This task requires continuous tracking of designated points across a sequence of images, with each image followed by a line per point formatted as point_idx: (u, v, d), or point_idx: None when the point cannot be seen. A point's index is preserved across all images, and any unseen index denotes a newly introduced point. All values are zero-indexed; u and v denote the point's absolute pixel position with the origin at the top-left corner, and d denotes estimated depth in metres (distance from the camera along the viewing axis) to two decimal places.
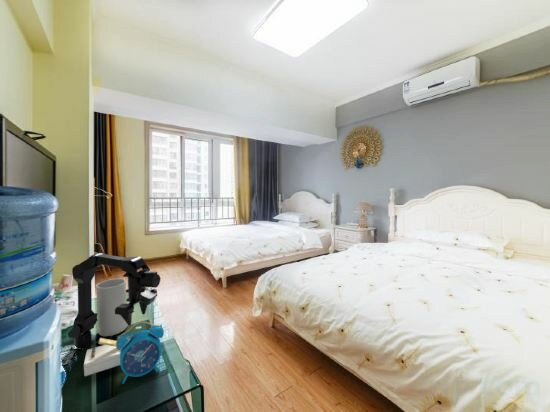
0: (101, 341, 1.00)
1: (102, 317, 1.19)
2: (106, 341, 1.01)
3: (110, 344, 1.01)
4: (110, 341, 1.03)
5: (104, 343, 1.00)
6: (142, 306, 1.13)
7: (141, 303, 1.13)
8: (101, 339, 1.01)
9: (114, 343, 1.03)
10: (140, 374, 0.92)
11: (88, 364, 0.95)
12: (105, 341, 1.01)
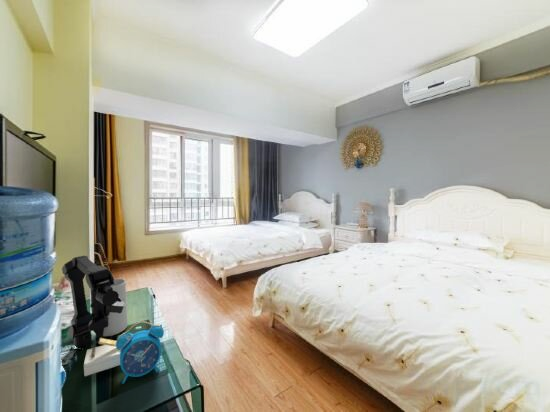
0: (101, 341, 1.00)
1: None
2: (106, 341, 1.01)
3: (110, 344, 1.01)
4: (110, 341, 1.03)
5: (104, 343, 1.00)
6: None
7: None
8: (101, 339, 1.01)
9: (114, 343, 1.03)
10: (140, 374, 0.92)
11: (88, 364, 0.95)
12: (105, 341, 1.01)
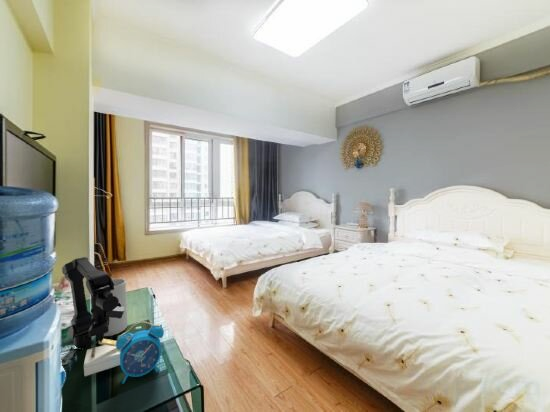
0: (101, 341, 1.00)
1: None
2: (106, 341, 1.01)
3: (110, 344, 1.01)
4: (110, 341, 1.03)
5: (104, 343, 1.00)
6: None
7: None
8: None
9: (114, 343, 1.03)
10: (140, 374, 0.92)
11: (88, 364, 0.95)
12: (105, 341, 1.01)
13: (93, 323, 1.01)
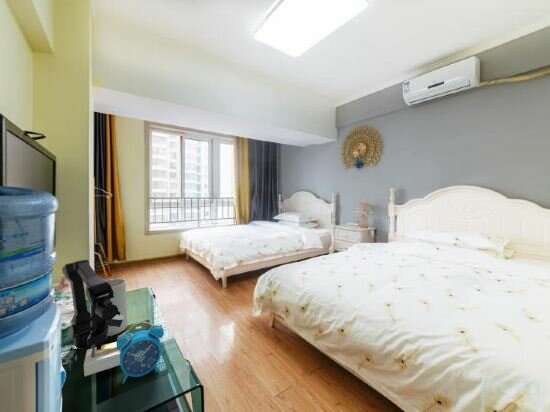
0: (98, 349, 1.00)
1: None
2: (104, 347, 1.01)
3: (108, 348, 1.01)
4: (108, 345, 1.02)
5: (102, 350, 1.00)
6: None
7: None
8: None
9: (113, 346, 1.03)
10: (140, 374, 0.92)
11: (88, 364, 0.95)
12: (102, 347, 1.01)
13: (92, 331, 1.01)
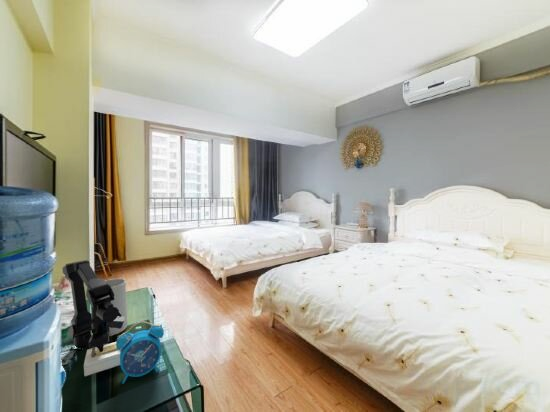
0: (98, 352, 1.00)
1: None
2: (103, 350, 1.01)
3: (108, 350, 1.01)
4: (108, 347, 1.02)
5: (102, 352, 1.00)
6: None
7: None
8: (98, 350, 1.01)
9: (112, 347, 1.03)
10: (140, 374, 0.92)
11: (88, 364, 0.95)
12: (102, 350, 1.01)
13: (93, 333, 1.01)
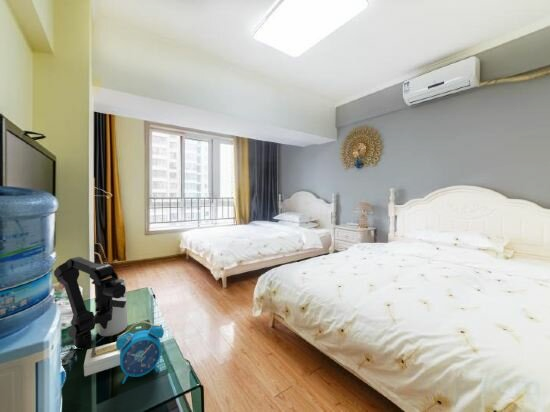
0: (98, 352, 1.00)
1: None
2: (103, 350, 1.01)
3: (108, 350, 1.01)
4: (108, 347, 1.02)
5: (102, 352, 1.00)
6: None
7: None
8: (98, 350, 1.01)
9: (112, 347, 1.03)
10: (140, 374, 0.92)
11: (88, 364, 0.95)
12: (102, 350, 1.01)
13: (97, 312, 1.06)
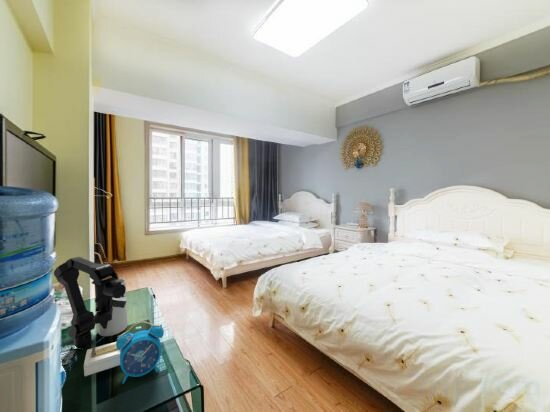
0: (98, 352, 1.00)
1: None
2: (103, 350, 1.01)
3: (108, 350, 1.01)
4: (108, 347, 1.02)
5: (102, 352, 1.00)
6: None
7: None
8: (98, 350, 1.01)
9: (112, 347, 1.03)
10: (140, 374, 0.92)
11: (88, 364, 0.95)
12: (102, 350, 1.01)
13: (97, 312, 1.06)
